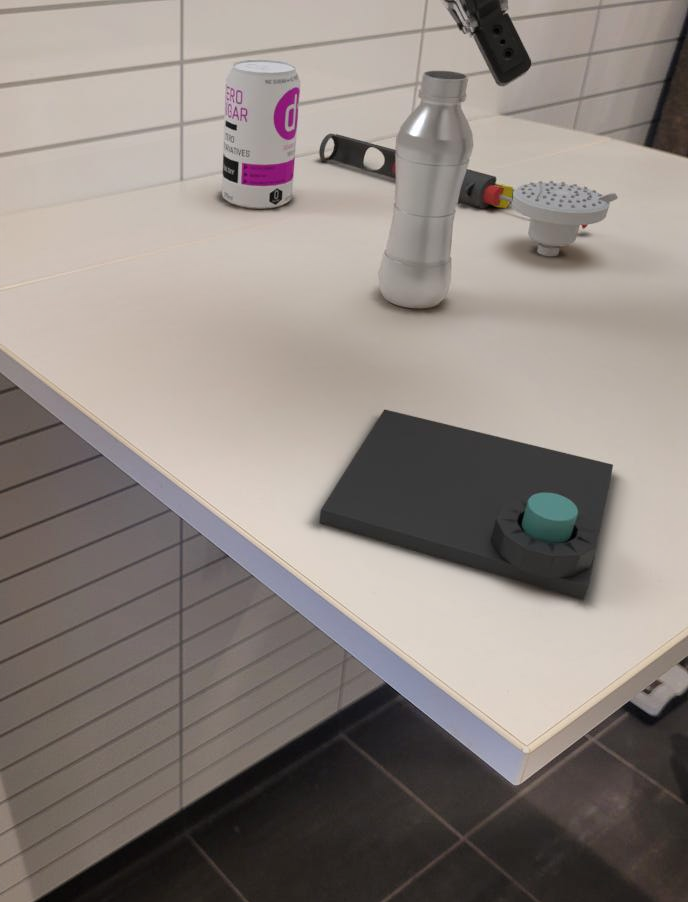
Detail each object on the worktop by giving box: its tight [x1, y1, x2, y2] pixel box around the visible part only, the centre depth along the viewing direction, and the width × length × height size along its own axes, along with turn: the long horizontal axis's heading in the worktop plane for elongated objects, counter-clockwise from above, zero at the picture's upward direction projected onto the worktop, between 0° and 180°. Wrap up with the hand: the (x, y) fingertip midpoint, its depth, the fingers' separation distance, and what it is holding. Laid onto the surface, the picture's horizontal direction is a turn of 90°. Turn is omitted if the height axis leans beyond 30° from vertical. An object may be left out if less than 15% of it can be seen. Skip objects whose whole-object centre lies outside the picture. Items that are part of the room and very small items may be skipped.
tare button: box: [522, 493, 578, 543], centre depth 55 cm, size 3×3×2 cm
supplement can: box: [221, 59, 301, 210], centre depth 107 cm, size 8×8×15 cm
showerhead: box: [511, 180, 619, 257], centre depth 97 cm, size 9×7×10 cm
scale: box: [318, 408, 614, 601], centre depth 61 cm, size 16×14×3 cm
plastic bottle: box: [377, 70, 474, 309], centre depth 83 cm, size 6×7×20 cm
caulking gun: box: [318, 133, 589, 230], centre depth 115 cm, size 4×37×10 cm
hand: (516, 77), depth 60 cm, fingers closed
